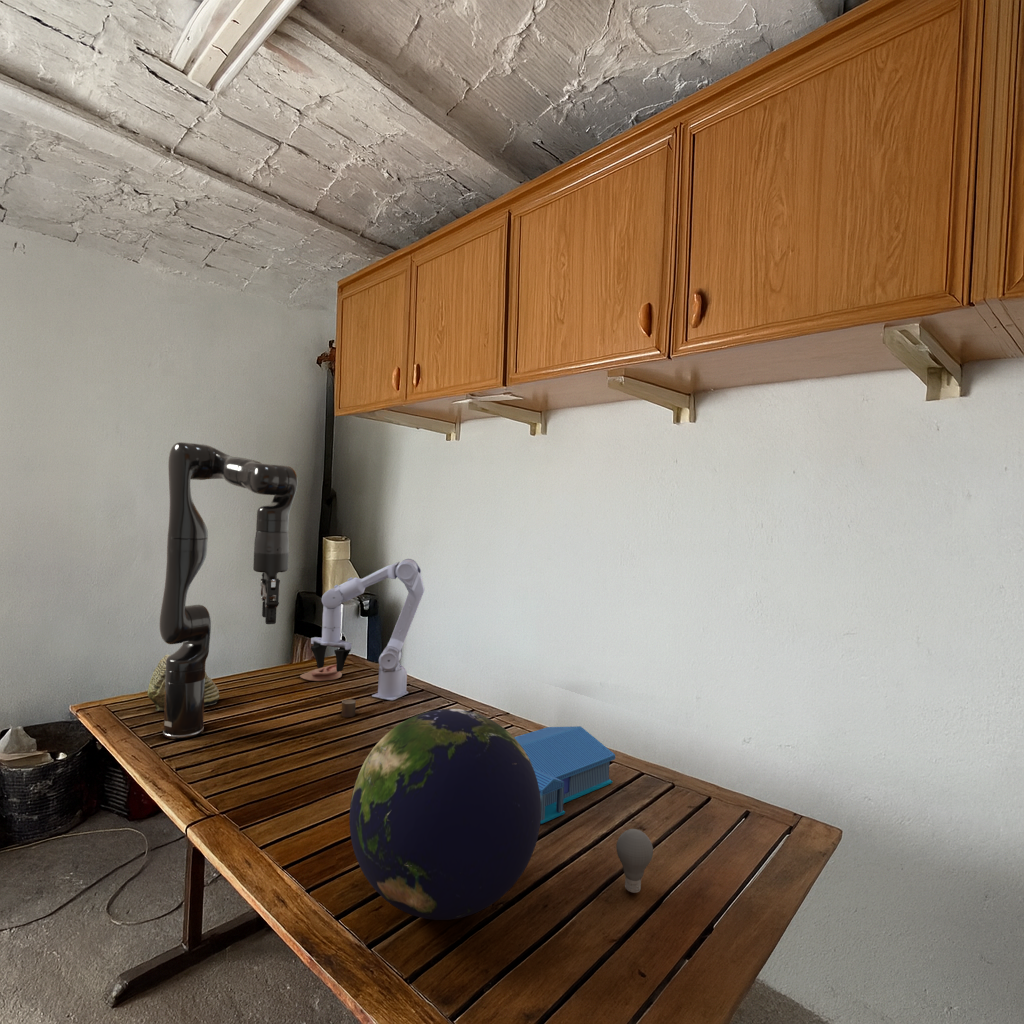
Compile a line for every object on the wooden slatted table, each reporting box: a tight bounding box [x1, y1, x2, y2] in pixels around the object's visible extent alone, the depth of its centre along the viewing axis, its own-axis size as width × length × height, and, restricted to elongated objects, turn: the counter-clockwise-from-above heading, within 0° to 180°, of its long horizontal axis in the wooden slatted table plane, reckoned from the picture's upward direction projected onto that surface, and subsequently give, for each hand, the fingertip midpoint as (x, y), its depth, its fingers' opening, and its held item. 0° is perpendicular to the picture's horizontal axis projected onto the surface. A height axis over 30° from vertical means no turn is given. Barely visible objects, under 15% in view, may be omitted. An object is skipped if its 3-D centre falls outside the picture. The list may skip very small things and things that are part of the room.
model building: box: [513, 725, 616, 825], centre depth 140 cm, size 39×24×10 cm, turn 132°
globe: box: [349, 708, 541, 921], centre depth 100 cm, size 30×30×30 cm
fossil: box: [147, 654, 221, 712], centre depth 185 cm, size 9×18×15 cm, turn 132°
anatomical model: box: [299, 663, 343, 682], centre depth 220 cm, size 13×4×12 cm
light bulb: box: [615, 828, 654, 894], centre depth 106 cm, size 6×6×10 cm
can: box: [340, 699, 357, 718], centre depth 184 cm, size 4×4×4 cm
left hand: (268, 620), depth 147 cm, fingers open, 8 cm apart
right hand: (330, 669), depth 202 cm, fingers open, 7 cm apart
